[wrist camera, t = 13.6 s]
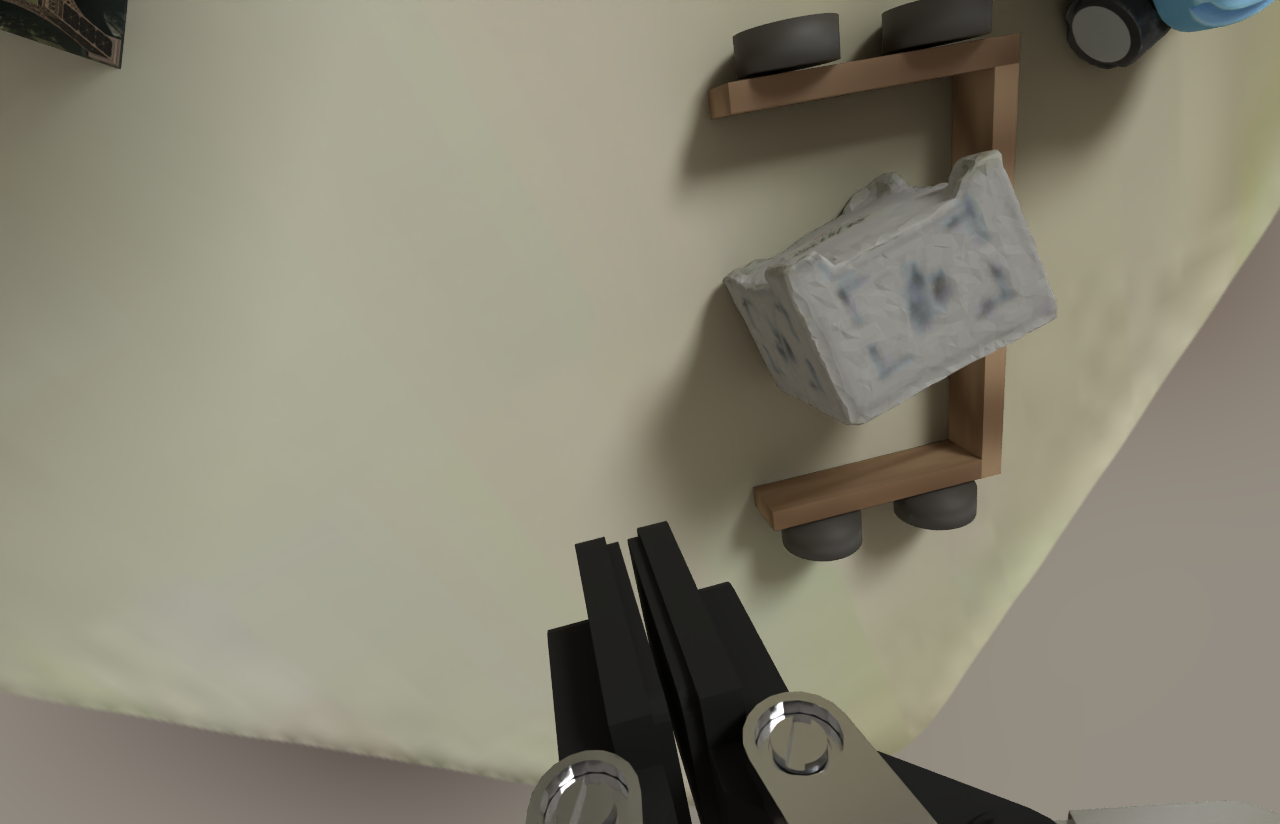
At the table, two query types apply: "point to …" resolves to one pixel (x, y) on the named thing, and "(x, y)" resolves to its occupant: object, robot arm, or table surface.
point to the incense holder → (897, 291)
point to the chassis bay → (982, 121)
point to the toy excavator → (1144, 24)
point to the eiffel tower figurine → (70, 25)
